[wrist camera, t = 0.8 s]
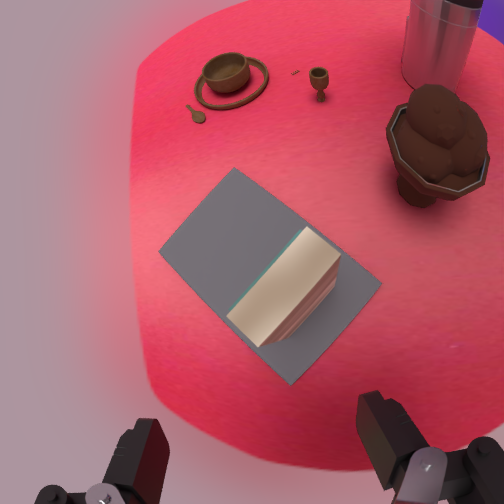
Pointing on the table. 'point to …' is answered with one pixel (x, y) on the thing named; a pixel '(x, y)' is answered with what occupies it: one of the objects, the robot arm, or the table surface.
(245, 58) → the place setting
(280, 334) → the tile
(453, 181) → the ice cream bowl
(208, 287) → the mat
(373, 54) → the table surface
